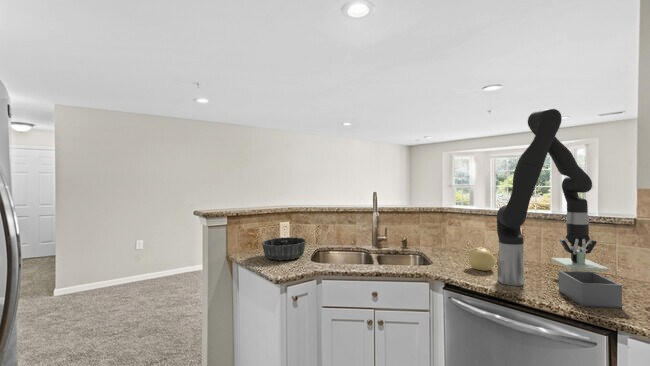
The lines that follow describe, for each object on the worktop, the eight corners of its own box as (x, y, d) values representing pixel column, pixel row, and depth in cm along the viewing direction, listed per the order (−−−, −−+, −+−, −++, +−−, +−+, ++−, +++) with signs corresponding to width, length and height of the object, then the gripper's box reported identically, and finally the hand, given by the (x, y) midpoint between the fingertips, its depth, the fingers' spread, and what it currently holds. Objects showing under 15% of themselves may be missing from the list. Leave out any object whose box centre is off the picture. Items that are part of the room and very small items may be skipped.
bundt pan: (255, 263, 181) (255, 245, 181) (269, 252, 207) (269, 236, 207) (301, 263, 177) (301, 245, 177) (310, 252, 203) (309, 237, 203)
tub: (581, 306, 112) (581, 283, 112) (558, 290, 128) (558, 270, 128) (622, 308, 110) (621, 285, 110) (593, 292, 125) (593, 271, 125)
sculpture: (489, 266, 165) (489, 245, 165) (498, 273, 153) (498, 250, 153) (466, 265, 166) (465, 245, 166) (473, 272, 155) (472, 250, 154)
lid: (571, 271, 131) (570, 255, 131) (551, 261, 148) (550, 246, 148) (609, 272, 128) (609, 256, 128) (584, 262, 145) (584, 247, 145)
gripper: (563, 223, 136) (564, 264, 136) (601, 223, 133) (602, 265, 133) (555, 221, 143) (555, 260, 143) (590, 221, 140) (591, 261, 141)
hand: (578, 262), depth 138 cm, fingers closed on lid
